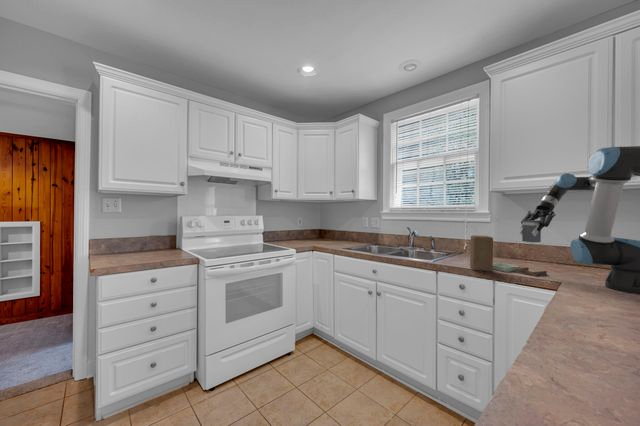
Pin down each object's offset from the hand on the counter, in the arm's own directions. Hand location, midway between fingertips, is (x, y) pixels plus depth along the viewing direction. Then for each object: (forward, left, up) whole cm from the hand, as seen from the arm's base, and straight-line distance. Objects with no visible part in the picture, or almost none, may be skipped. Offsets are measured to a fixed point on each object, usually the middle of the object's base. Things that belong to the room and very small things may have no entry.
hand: (527, 234), depth 156 cm
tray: (+13, +1, -22) cm, 26 cm away
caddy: (0, -4, -4) cm, 6 cm away
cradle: (0, -4, -22) cm, 23 cm away
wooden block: (+16, +15, -23) cm, 32 cm away
